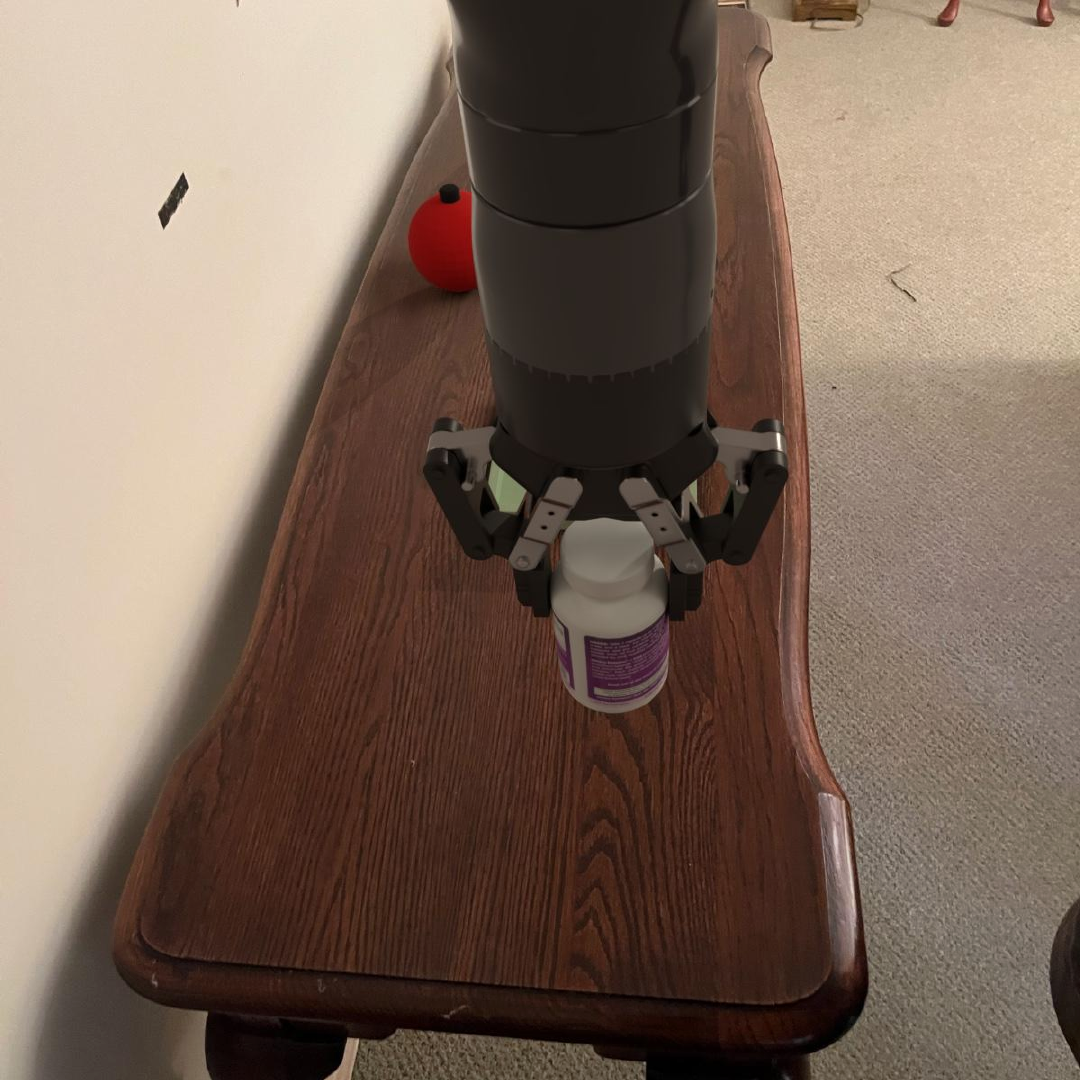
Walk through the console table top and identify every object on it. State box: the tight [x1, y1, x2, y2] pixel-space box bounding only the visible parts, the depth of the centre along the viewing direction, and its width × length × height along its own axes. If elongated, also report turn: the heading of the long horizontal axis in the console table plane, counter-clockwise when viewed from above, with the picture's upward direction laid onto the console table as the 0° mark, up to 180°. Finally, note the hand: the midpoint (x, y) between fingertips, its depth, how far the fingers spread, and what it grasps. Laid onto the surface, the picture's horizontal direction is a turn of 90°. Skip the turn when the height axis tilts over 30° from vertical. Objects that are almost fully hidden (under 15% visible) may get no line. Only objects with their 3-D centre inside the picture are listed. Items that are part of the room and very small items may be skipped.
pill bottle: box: [550, 518, 670, 714], centre depth 45 cm, size 5×5×10 cm
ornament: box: [407, 183, 478, 293], centre depth 91 cm, size 9×9×10 cm
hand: (610, 602), depth 45 cm, fingers closed on pill bottle, 5 cm apart
